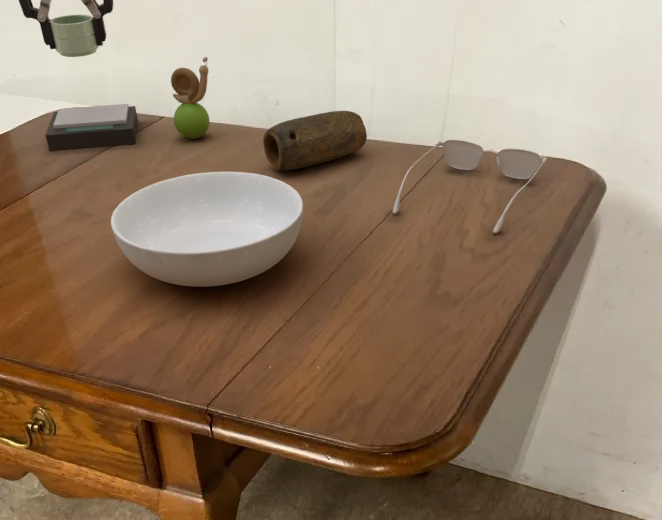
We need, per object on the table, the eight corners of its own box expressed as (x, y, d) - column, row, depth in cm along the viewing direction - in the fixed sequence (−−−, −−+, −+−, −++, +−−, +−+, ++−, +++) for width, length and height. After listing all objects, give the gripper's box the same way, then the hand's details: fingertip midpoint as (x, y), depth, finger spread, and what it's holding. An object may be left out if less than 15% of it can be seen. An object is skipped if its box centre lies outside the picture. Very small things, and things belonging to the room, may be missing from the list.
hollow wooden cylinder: (290, 183, 106) (287, 134, 102) (260, 168, 110) (257, 121, 106) (371, 155, 113) (372, 108, 109) (341, 143, 117) (340, 97, 113)
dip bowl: (54, 59, 113) (47, 25, 110) (59, 48, 118) (52, 16, 115) (97, 56, 114) (91, 22, 111) (100, 45, 118) (94, 13, 116)
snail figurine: (210, 145, 118) (200, 62, 110) (171, 142, 119) (158, 60, 112) (222, 133, 122) (213, 52, 115) (184, 130, 123) (173, 50, 116)
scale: (49, 150, 118) (44, 131, 116) (57, 126, 126) (53, 108, 124) (135, 143, 119) (131, 124, 117) (137, 120, 128) (134, 102, 126)
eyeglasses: (544, 182, 104) (548, 153, 102) (503, 237, 92) (507, 205, 89) (437, 164, 110) (438, 136, 107) (385, 214, 97) (386, 183, 95)
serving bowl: (192, 211, 99) (185, 159, 95) (337, 243, 91) (336, 188, 87) (82, 285, 85) (67, 227, 81) (242, 330, 77) (235, 269, 73)
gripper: (104, -91, 108) (126, 37, 119) (-2, -86, 107) (31, 43, 117) (100, -85, 103) (124, 49, 113) (-11, -79, 101) (23, 56, 112)
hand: (77, 45), depth 115 cm, fingers closed on dip bowl, 6 cm apart
